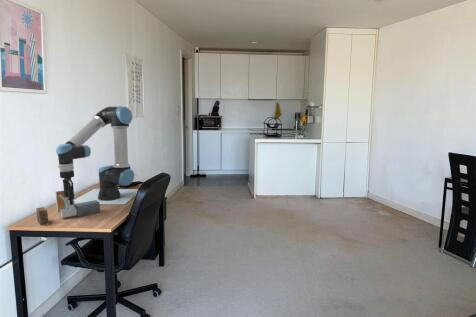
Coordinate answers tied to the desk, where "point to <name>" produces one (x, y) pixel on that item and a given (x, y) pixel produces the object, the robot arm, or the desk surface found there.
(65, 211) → the teal-ended white column
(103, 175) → the robot arm
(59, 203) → the small box
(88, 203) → the grey rectangular block
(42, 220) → the socket
